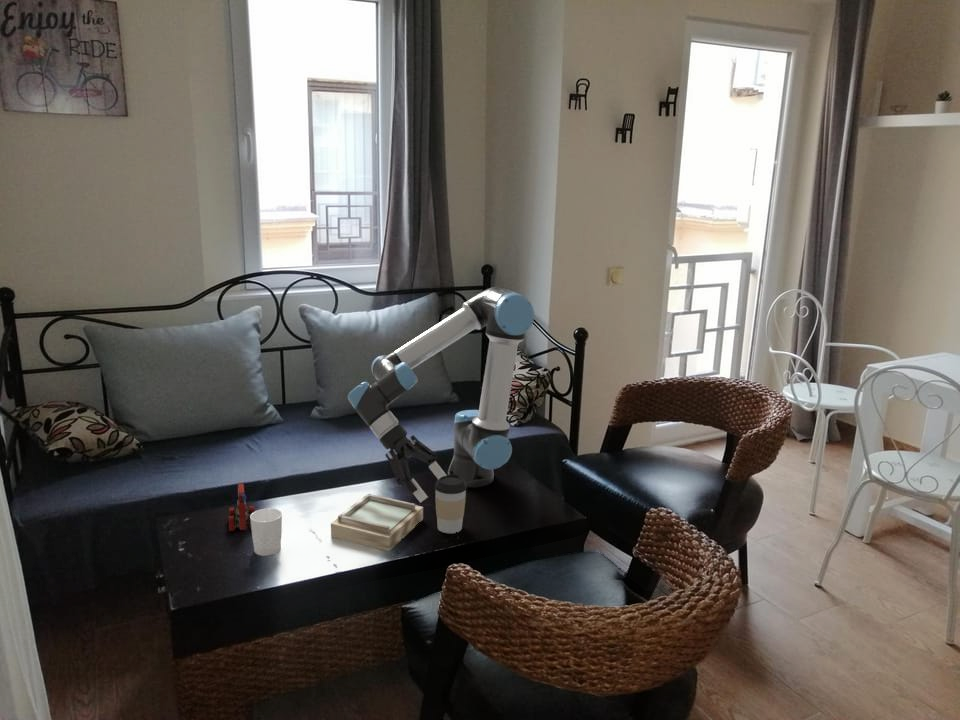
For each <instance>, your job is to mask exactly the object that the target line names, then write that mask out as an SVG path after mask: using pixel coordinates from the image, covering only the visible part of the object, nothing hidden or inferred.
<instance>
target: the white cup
mask: <svg viewBox="0 0 960 720" xmlns="http://www.w3.org/2000/svg"><path fill="white" fill-rule="evenodd" d="M282 518H283V515H282V511H281V510H279V509H277V508H272V507H271V508H269V507H268V508H261V509H257V510H255V512H253V513H252V514H251V515H250V520H251V530H250V531H251V538H252V543H253V551H254V553H255V554H256V555H257V556H261V557H266V556H267V557H269V556H273V555H275V554H278V553H279V552H280V551H281V549H282V547H281V546H282V528H283V527H282V524H283V523H282V522H283V519H282Z"/></svg>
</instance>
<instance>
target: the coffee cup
mask: <svg viewBox="0 0 960 720" xmlns="http://www.w3.org/2000/svg"><path fill="white" fill-rule="evenodd" d="M446 475H447V476H443V477H441V478H439V480H438V479H437V480H436V481H435V483H434V490H435V513H436V520H437V521H436V523H437V530H438V531H439V532H441V533H445V534H456V532H457V533H459V532H461V530H462V529H463V521H464V520H463V519H464V516H465V507H466V498H467V493H466V492H467V489H468V487H467V484H466V482H465V481H463V479H462V478H460V477H459V476H458V475H455V474H449V475H448V474H446Z"/></svg>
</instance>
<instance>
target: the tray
mask: <svg viewBox="0 0 960 720" xmlns="http://www.w3.org/2000/svg"><path fill="white" fill-rule="evenodd" d="M423 520H424V507H423V506H420V505H417V504H416V503H413V502H408V501H403V500H399V499H394V498H390V497H385V496H383V495H382V496H380V495H376V494H373V493H367V494H365V495H364V496H363V497H362V498H360V499H359V500H358V501H357V502H355V503H354V504H352V505H351V506H350V507H348V508H347V509H345V510H343V512H342V513H340V514H339V515H338V516H337V518H336V519H335V520H333V521H332V522H331V523H330V537H331V538H334V537H335V539H339V540H342V539H343V541H347V542H350V543H353V544H354V543H355V544H359V545H363V546H366V547H371V548H375V549H378V550H382V551H386V552H390V551H391V550H392V549H393V548H395V546H396V545H397V544H398V543H400V542H401V541H402V540H403V539H404V538H405V537H406V536H408V535H409V533H411V531H413V530H414V528H416V527H417V526H418V525H419V524H420V523H421V522H422V521H423ZM419 522H420V523H419ZM418 523H419V524H418ZM417 524H418V525H417ZM416 525H417V526H416ZM415 526H416V527H415ZM402 538H403V539H402ZM401 539H402V540H401Z"/></svg>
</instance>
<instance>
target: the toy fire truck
mask: <svg viewBox="0 0 960 720" xmlns="http://www.w3.org/2000/svg"><path fill="white" fill-rule="evenodd" d="M237 496H238V497H237V498H238V499H237V502H236V504H237V507H236V508H235V507H230V508H228V531H229V532H235V531H236V529H237V528H239V530H240V531H243V530H246V529H247V526H246V525H248V528H249V529H251V520H250V515H251V514H252V513H253V512H255V511H256V510H255V505H249V506H247V505H246V504H247V502H246V500H247V496H246V494H245V484H244V483H238V484H237Z"/></svg>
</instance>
